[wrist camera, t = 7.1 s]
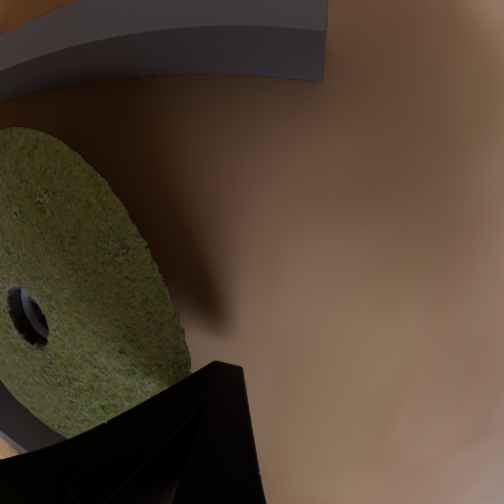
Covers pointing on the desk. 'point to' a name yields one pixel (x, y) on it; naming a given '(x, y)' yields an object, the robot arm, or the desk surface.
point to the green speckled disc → (77, 292)
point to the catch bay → (152, 73)
